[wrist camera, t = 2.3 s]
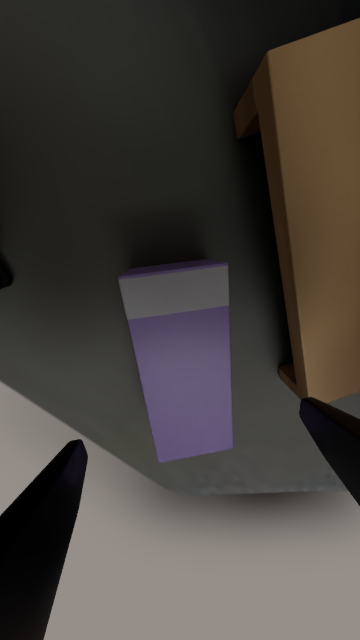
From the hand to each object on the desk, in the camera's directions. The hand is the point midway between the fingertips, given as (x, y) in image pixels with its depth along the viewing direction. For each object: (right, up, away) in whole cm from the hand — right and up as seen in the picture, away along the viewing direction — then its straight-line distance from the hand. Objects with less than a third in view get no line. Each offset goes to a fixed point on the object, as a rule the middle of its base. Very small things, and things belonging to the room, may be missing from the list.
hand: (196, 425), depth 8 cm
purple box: (-1, +2, +7) cm, 7 cm away
